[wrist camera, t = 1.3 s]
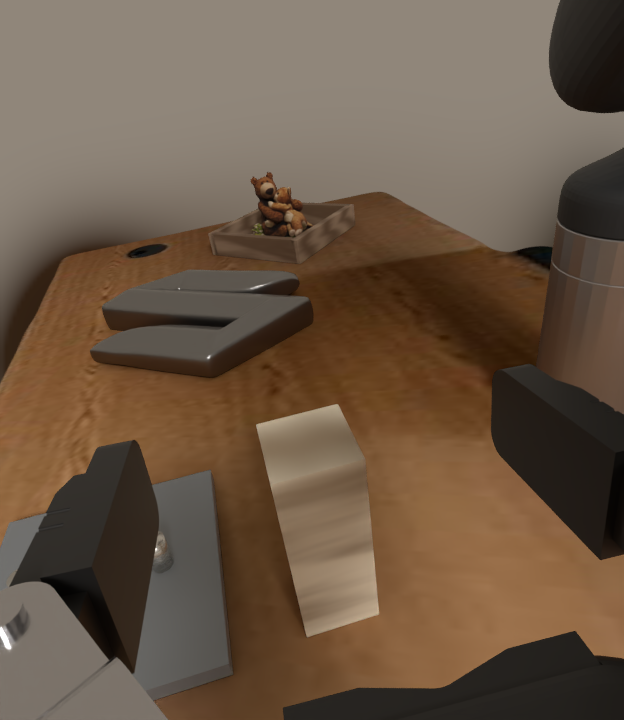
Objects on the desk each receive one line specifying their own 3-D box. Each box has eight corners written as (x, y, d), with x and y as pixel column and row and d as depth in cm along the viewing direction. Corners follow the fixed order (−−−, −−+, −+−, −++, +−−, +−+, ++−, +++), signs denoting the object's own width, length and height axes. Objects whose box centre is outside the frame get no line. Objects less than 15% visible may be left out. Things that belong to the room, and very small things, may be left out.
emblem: (62, 371, 51) (107, 275, 74) (81, 411, 53) (118, 306, 77) (324, 318, 53) (287, 241, 77) (329, 359, 56) (292, 273, 80)
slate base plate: (16, 532, 39) (-6, 501, 37) (213, 479, 41) (203, 447, 39) (-66, 771, 26) (-106, 741, 24) (233, 674, 28) (218, 639, 26)
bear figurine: (263, 259, 86) (249, 188, 80) (244, 237, 99) (231, 174, 92) (334, 241, 90) (326, 172, 83) (307, 222, 102) (299, 161, 95)
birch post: (291, 572, 33) (256, 424, 26) (355, 552, 34) (337, 403, 27) (306, 637, 29) (270, 485, 22) (379, 614, 30) (365, 459, 23)
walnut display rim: (274, 220, 105) (271, 201, 103) (355, 224, 96) (353, 204, 94) (213, 254, 91) (208, 233, 89) (300, 263, 82) (296, 240, 80)
